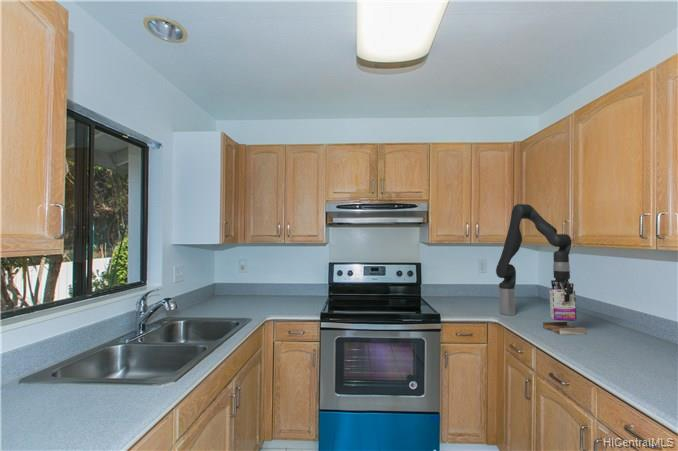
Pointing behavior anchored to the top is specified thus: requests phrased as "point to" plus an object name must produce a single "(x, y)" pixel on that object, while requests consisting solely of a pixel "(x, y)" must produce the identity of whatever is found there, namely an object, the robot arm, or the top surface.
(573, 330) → the shelf
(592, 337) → the top surface
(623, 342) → the top surface
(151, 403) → the top surface
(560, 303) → the candy bar box
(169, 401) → the top surface
